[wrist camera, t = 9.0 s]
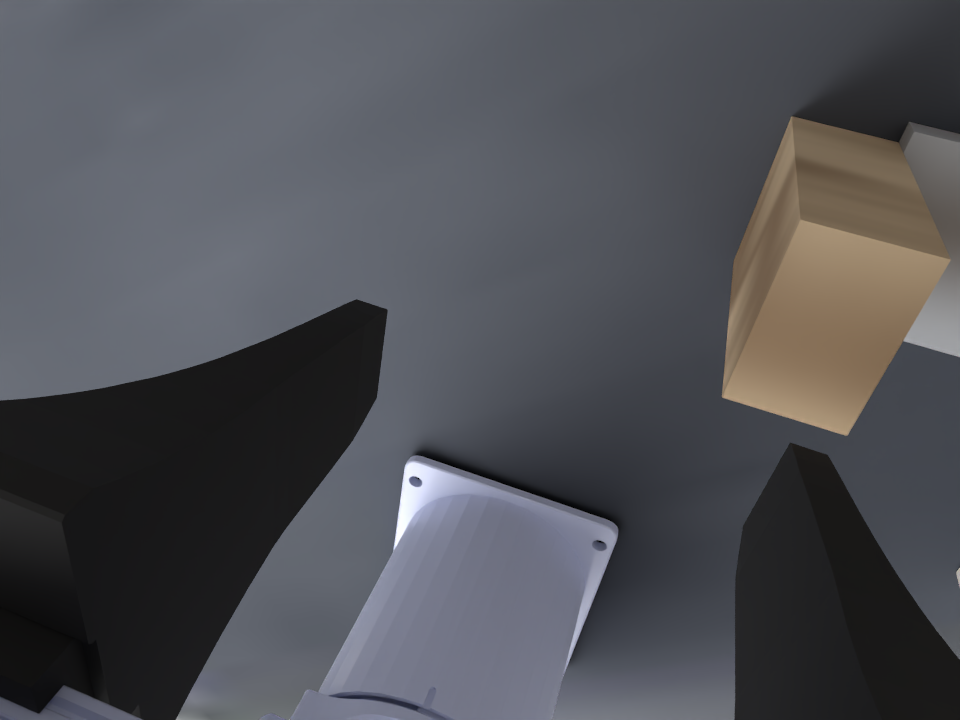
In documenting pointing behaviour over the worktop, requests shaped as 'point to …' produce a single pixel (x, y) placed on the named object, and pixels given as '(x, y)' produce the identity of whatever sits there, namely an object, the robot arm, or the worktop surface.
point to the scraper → (844, 269)
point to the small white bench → (958, 575)
